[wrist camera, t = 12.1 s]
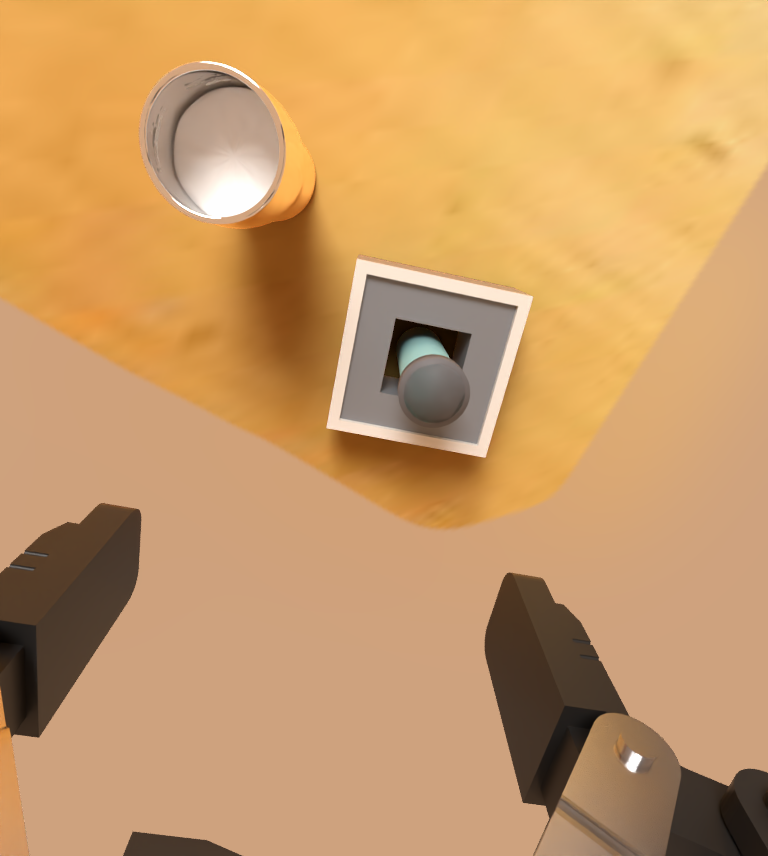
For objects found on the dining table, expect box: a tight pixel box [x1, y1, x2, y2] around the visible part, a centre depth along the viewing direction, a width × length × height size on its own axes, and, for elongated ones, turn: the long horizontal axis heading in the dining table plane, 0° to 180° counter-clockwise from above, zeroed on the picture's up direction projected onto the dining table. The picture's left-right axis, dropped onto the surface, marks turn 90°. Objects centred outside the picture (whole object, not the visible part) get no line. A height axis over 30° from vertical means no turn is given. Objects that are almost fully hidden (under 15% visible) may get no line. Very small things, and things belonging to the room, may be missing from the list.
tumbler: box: [139, 61, 316, 229], centre depth 31 cm, size 7×7×15 cm
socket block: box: [327, 255, 533, 458], centre depth 40 cm, size 12×12×5 cm
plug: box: [396, 327, 470, 428], centre depth 37 cm, size 4×4×12 cm
